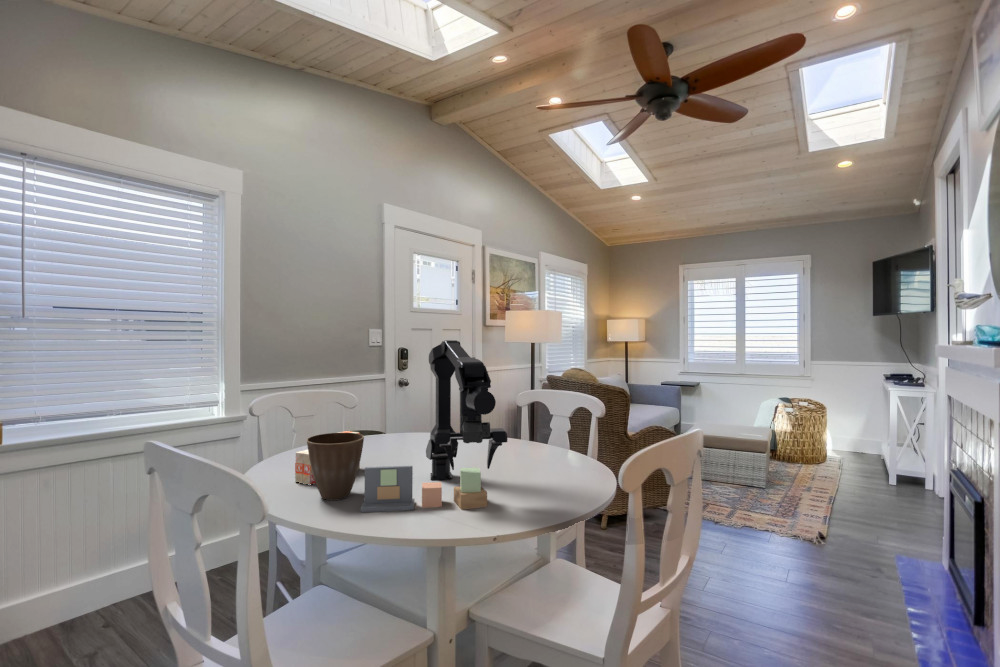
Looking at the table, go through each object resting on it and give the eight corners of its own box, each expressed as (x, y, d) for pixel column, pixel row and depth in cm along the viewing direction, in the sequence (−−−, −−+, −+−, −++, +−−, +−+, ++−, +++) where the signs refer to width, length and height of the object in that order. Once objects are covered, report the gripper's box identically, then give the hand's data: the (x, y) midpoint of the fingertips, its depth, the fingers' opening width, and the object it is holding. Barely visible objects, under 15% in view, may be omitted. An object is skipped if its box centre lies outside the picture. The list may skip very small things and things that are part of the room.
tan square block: (453, 502, 135) (453, 487, 135) (478, 499, 137) (478, 484, 137) (460, 510, 128) (460, 494, 128) (487, 507, 131) (487, 491, 131)
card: (363, 504, 132) (363, 465, 132) (414, 502, 134) (414, 464, 134) (360, 512, 126) (360, 471, 126) (413, 509, 128) (413, 470, 128)
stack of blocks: (310, 486, 148) (310, 444, 148) (294, 483, 151) (294, 442, 151) (360, 469, 168) (360, 431, 168) (345, 466, 170) (345, 430, 170)
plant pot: (368, 500, 135) (369, 440, 135) (309, 508, 129) (309, 445, 129) (358, 485, 149) (358, 430, 149) (303, 492, 142) (304, 435, 142)
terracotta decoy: (422, 501, 134) (422, 482, 134) (441, 500, 135) (441, 482, 135) (421, 508, 129) (422, 488, 130) (441, 507, 130) (441, 487, 130)
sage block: (460, 486, 135) (460, 468, 135) (479, 486, 136) (479, 467, 136) (461, 492, 130) (461, 473, 130) (480, 491, 131) (480, 472, 131)
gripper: (435, 414, 123) (435, 478, 123) (510, 413, 126) (510, 476, 126) (434, 408, 134) (434, 467, 134) (504, 407, 137) (504, 465, 137)
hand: (470, 469), depth 133 cm, fingers open, 9 cm apart
